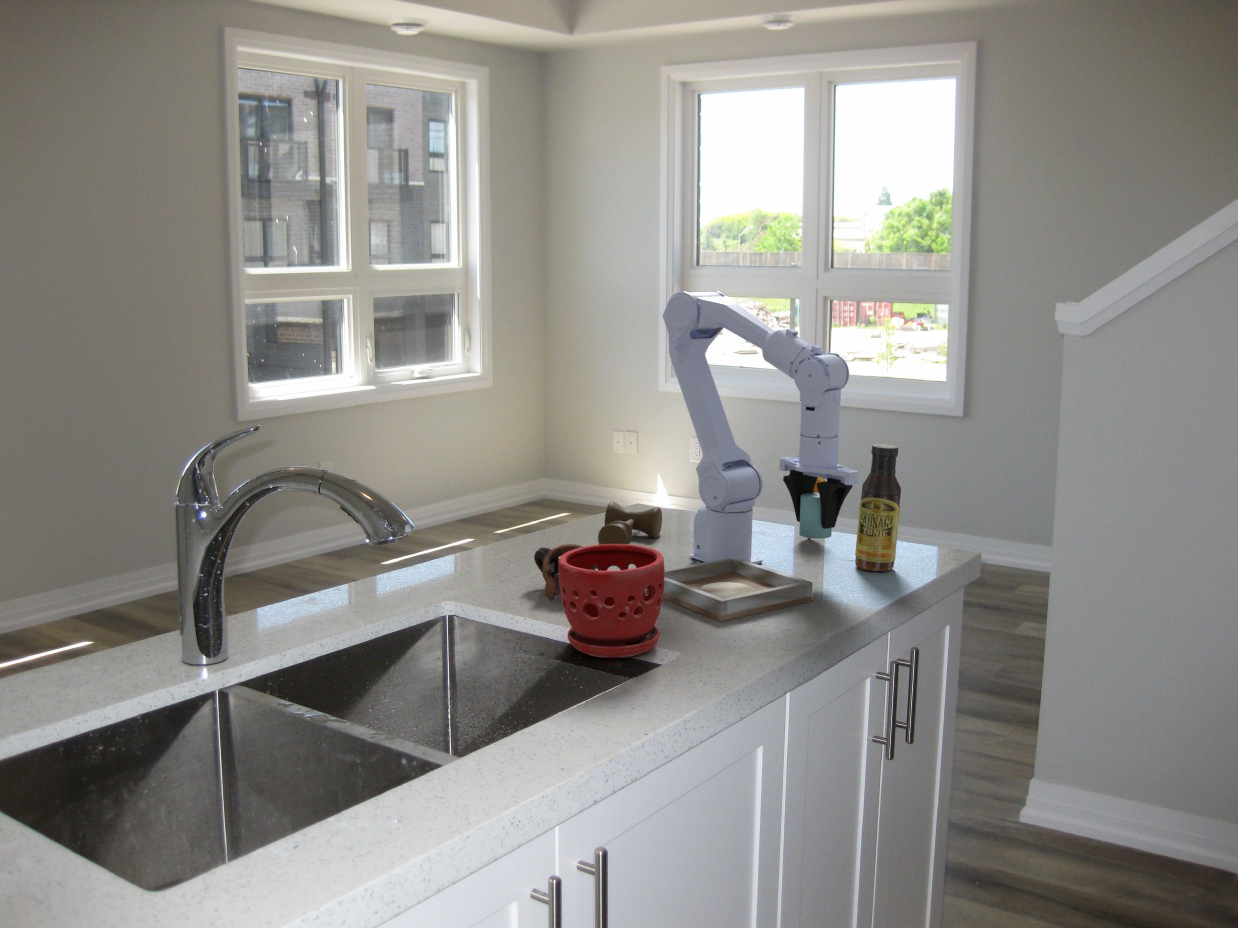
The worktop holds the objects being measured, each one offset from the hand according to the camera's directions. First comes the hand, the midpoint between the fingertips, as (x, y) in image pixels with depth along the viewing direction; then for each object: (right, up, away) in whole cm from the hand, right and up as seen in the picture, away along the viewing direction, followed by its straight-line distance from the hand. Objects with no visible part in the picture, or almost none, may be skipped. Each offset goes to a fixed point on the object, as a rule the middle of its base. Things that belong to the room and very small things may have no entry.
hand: (815, 524), depth 174 cm
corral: (-14, -10, -7) cm, 19 cm away
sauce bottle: (+11, -8, +9) cm, 16 cm away
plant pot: (-31, -14, -30) cm, 45 cm away
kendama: (-28, -5, +27) cm, 39 cm away
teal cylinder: (0, -2, 0) cm, 2 cm away
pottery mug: (-38, -10, -5) cm, 39 cm away
